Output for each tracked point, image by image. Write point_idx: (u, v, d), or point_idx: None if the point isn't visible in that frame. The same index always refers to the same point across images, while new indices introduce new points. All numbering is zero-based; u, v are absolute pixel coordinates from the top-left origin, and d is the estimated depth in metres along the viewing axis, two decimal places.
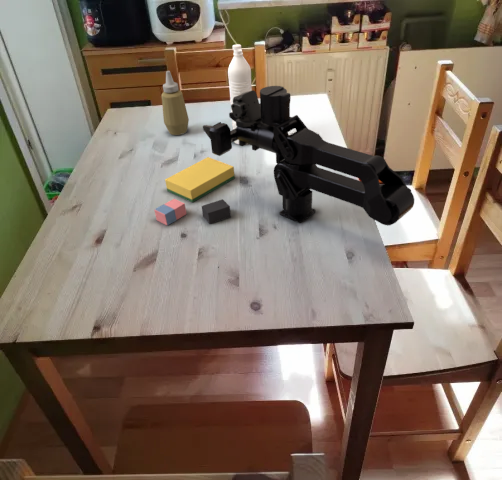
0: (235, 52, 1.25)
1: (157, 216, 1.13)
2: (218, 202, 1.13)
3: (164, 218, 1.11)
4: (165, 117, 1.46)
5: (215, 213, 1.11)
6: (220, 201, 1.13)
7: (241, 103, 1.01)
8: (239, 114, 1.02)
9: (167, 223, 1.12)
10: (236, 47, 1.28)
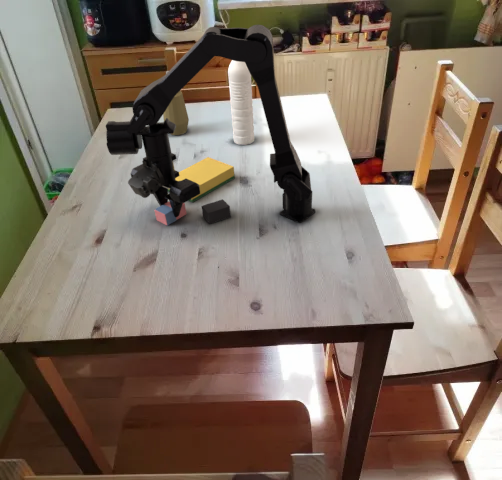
0: None
1: (157, 216, 1.13)
2: (218, 202, 1.13)
3: (164, 218, 1.11)
4: (165, 117, 1.46)
5: (215, 213, 1.11)
6: (220, 201, 1.13)
7: (145, 184, 1.00)
8: (155, 181, 1.01)
9: (167, 223, 1.12)
10: None
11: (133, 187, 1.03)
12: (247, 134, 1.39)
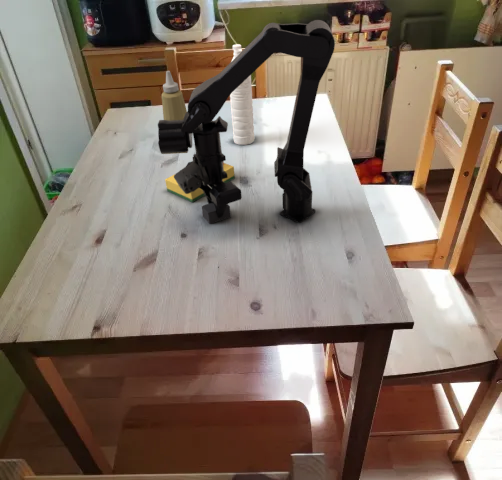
0: (235, 52, 1.25)
1: None
2: None
3: None
4: (165, 117, 1.46)
5: (215, 213, 1.11)
6: None
7: (186, 180, 1.00)
8: (196, 179, 1.00)
9: None
10: (236, 47, 1.28)
11: (177, 181, 1.03)
12: (247, 134, 1.39)
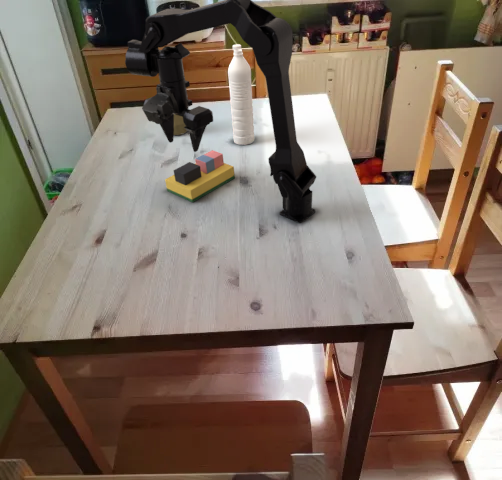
0: (235, 52, 1.25)
1: None
2: (187, 165, 1.20)
3: (204, 166, 1.22)
4: None
5: (189, 174, 1.18)
6: (189, 164, 1.21)
7: (159, 108, 1.01)
8: (169, 105, 1.02)
9: (207, 171, 1.22)
10: (236, 47, 1.28)
11: (147, 113, 1.04)
12: (247, 134, 1.39)
